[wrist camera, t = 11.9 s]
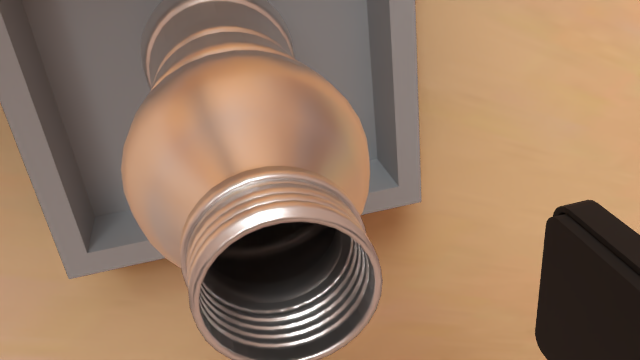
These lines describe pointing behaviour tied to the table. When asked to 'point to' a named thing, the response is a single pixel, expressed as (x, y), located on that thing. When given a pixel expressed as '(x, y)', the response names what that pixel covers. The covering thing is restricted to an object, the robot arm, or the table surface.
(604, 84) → the table surface
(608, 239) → the robot arm
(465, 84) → the table surface
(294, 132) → the plastic bottle
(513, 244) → the table surface
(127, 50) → the bin
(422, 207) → the table surface
